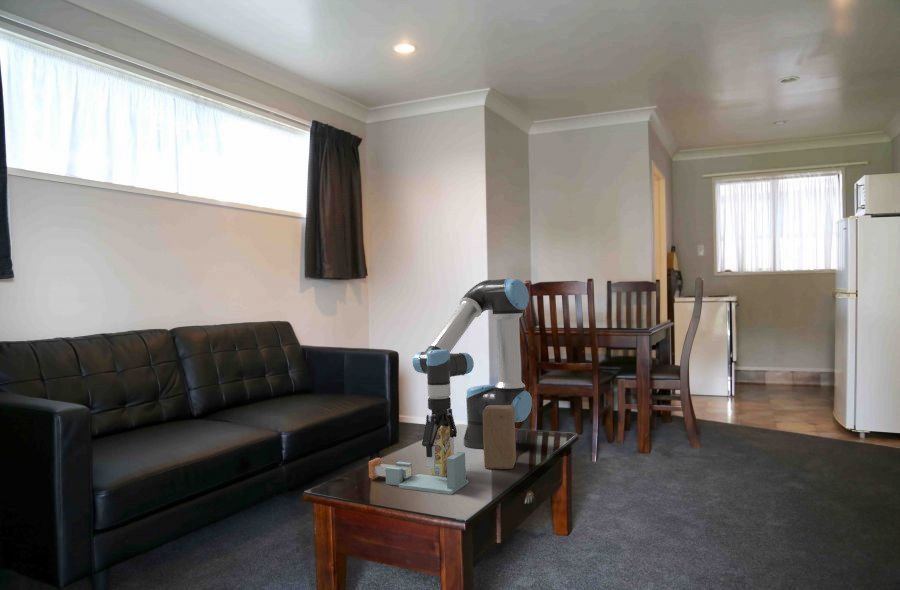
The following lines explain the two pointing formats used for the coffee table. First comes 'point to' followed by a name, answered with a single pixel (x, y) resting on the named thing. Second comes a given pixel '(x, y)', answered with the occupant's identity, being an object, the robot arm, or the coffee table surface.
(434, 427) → the robot arm
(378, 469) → the ram
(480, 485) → the coffee table surface
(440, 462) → the candy box
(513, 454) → the wooden block
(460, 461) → the press
